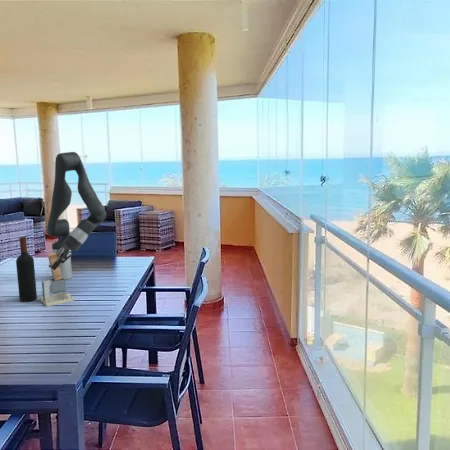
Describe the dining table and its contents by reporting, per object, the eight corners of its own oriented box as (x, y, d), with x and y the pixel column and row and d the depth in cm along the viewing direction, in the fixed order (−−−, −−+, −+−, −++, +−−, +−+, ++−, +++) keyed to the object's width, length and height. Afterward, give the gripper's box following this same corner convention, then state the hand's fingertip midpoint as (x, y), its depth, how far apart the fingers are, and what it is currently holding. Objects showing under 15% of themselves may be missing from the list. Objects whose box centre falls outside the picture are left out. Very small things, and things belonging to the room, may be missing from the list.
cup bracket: (39, 300, 202) (37, 279, 201) (65, 294, 209) (64, 274, 208) (46, 306, 193) (44, 284, 191) (73, 300, 200) (71, 279, 198)
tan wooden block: (53, 279, 201) (47, 254, 198) (60, 277, 202) (54, 253, 200) (55, 280, 198) (49, 255, 196) (62, 278, 200) (56, 254, 197)
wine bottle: (18, 303, 198) (12, 239, 194) (21, 298, 206) (15, 236, 202) (35, 301, 200) (30, 237, 196) (38, 296, 208) (32, 235, 203)
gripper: (65, 232, 207) (40, 261, 202) (74, 235, 196) (49, 266, 191) (77, 242, 211) (53, 270, 206) (87, 245, 200) (62, 275, 194)
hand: (51, 268), depth 198 cm, fingers closed on tan wooden block, 3 cm apart
